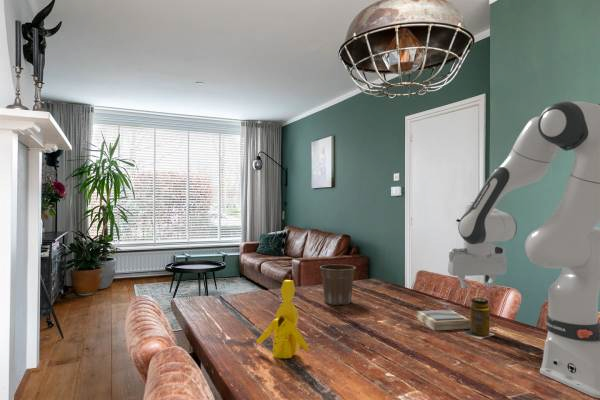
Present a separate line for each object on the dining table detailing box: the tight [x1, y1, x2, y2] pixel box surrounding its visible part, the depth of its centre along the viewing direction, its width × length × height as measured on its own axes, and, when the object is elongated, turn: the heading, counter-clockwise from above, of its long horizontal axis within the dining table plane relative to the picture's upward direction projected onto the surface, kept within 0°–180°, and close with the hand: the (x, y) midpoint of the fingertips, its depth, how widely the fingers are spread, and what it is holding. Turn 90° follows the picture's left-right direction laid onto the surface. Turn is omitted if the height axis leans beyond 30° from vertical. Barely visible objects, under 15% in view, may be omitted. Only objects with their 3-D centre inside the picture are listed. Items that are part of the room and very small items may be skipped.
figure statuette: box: [255, 279, 310, 360], centre depth 120 cm, size 18×8×22 cm, turn 64°
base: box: [416, 309, 470, 331], centre depth 150 cm, size 14×14×3 cm
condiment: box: [461, 297, 496, 340], centre depth 138 cm, size 7×8×12 cm
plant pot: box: [319, 264, 356, 306], centre depth 182 cm, size 16×16×16 cm
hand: (476, 287), depth 139 cm, fingers open, 8 cm apart
